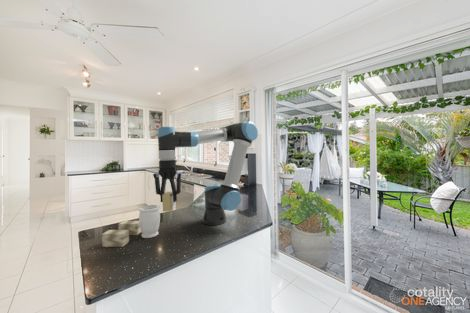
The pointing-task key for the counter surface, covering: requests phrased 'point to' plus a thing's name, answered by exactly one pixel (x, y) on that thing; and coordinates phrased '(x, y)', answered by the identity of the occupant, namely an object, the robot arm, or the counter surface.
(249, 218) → the counter surface
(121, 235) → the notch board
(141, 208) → the jar
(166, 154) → the robot arm
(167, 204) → the yellowish stone chunk
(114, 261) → the counter surface
